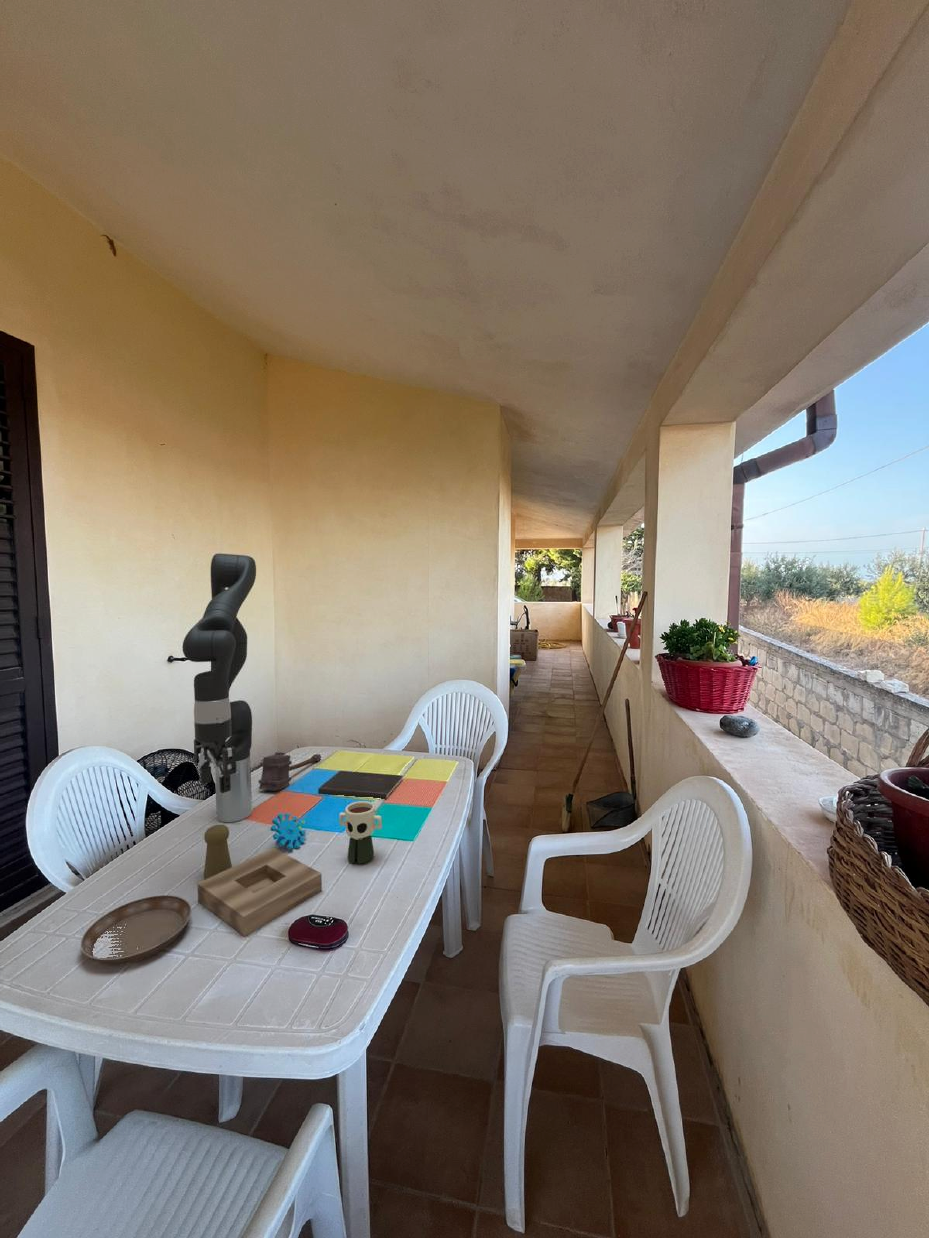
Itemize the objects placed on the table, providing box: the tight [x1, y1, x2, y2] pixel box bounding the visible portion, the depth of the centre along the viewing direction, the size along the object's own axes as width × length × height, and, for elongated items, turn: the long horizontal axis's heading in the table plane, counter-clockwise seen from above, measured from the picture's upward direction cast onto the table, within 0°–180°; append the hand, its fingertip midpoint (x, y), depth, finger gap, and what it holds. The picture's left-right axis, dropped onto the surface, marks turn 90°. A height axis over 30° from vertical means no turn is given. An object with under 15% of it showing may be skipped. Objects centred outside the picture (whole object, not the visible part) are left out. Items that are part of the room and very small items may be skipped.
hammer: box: [258, 753, 322, 792], centre depth 179 cm, size 7×33×10 cm, turn 167°
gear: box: [270, 812, 307, 850], centre depth 132 cm, size 11×6×10 cm
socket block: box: [196, 847, 323, 937], centre depth 110 cm, size 18×18×4 cm
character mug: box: [338, 800, 383, 864], centre depth 124 cm, size 11×7×13 cm, turn 79°
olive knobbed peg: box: [203, 824, 233, 880], centre depth 118 cm, size 6×6×11 cm
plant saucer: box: [80, 894, 192, 966], centre depth 97 cm, size 18×18×3 cm
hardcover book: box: [317, 770, 403, 801], centre depth 168 cm, size 16×23×2 cm
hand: (215, 787), depth 117 cm, fingers open, 8 cm apart
